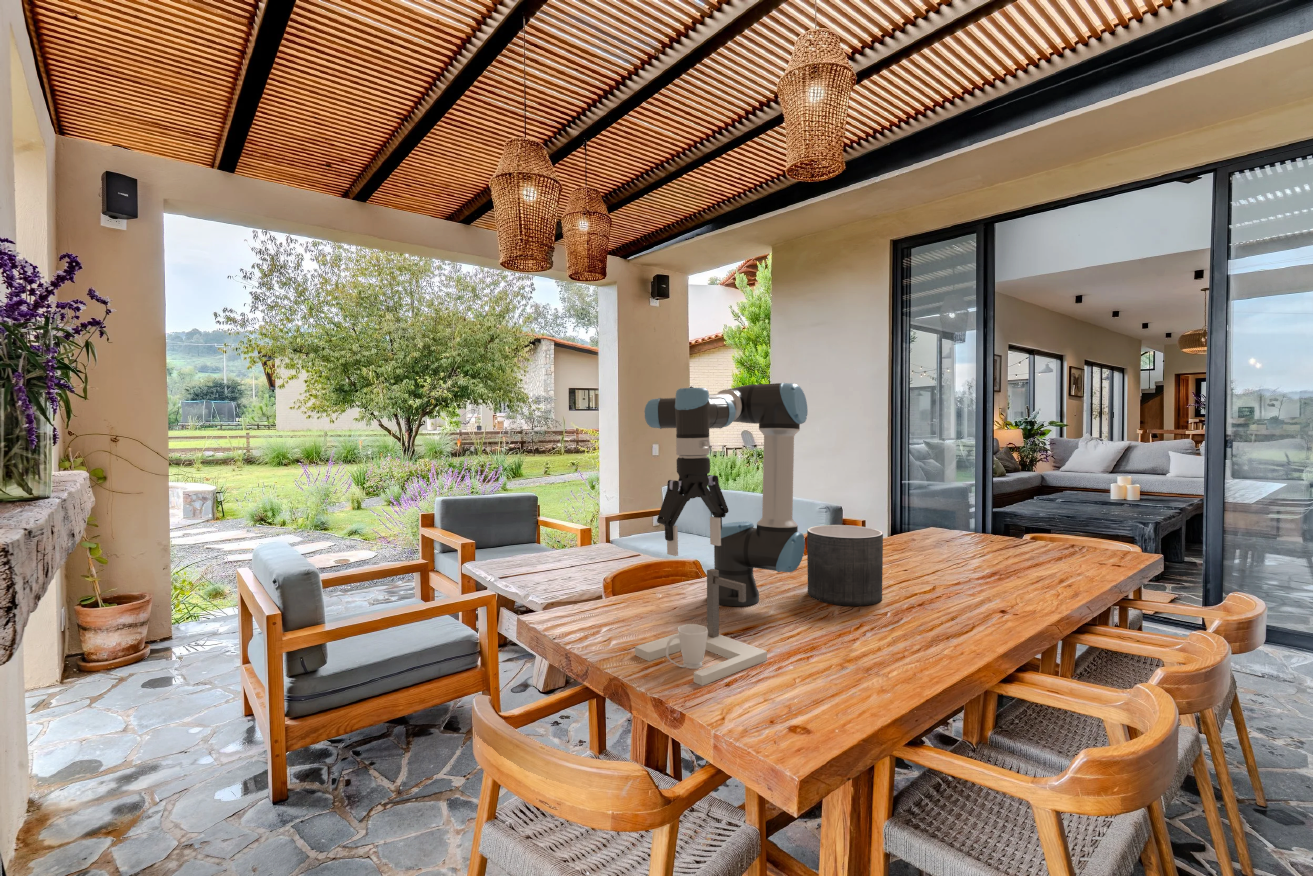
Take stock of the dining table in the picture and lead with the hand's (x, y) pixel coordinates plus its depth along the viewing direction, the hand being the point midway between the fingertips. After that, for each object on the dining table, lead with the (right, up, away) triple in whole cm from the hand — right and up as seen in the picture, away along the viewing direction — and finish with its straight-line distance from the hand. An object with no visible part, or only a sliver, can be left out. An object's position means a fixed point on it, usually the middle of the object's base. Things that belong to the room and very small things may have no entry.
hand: (694, 549), depth 140 cm
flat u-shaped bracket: (+1, -25, +1) cm, 25 cm away
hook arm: (+8, -22, +6) cm, 25 cm away
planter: (+49, -23, +49) cm, 73 cm away
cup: (-2, -25, -4) cm, 25 cm away
